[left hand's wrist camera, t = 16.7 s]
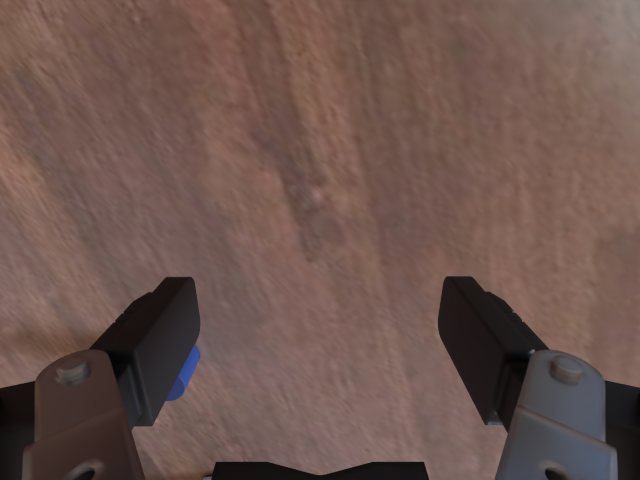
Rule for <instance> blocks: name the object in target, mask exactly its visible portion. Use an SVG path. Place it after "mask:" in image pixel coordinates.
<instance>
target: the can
mask: <svg viewBox="0 0 640 480" xmlns="http://www.w3.org/2000/svg"><path fill="white" fill-rule="evenodd" d="M199 357H200V355H199V351H198V349H197V347H196V346H195V345H194V346H193V348H192V350H191V352H190V354H189V356H188V358H187V360H186V362H185V364H184V366H183V368H182V370H181V371H180V373H179V375H178V377H177V379H176V381H175V383H174V385H173V387H172V389H171V391H170V393H169V395H168V397H167V399H166V400H165V401H172V400H176V399H178V398H179V397H181V396H182V395H183V393H184V391H185V389H186V387H187V385H188V383H189V380H190V378H191V376H192V374H193V371H194V369H195V367H196V365H197V363H198V360H199Z"/></svg>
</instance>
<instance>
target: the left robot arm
mask: <svg viewBox="0 0 640 480" xmlns="http://www.w3.org/2000/svg"><path fill="white" fill-rule="evenodd" d="M115 321H116V322H115V323H113V324H112V325H111V326H110V327H109V328H108V329H107V330H106V331H105V332H104V333H103V334H102V335H101V336H100V338H99V339H98V340H97V341H96V342H95V343H94V344H93V345H92V346H91V347H90V348H89V349H88V350H83V351H78V352H75V353H71V354H69V355H66V356H64V357H62V358H60V359H58V360H56V361H54V362H53V363H51V364H50V365H48V366H47V367H46V368H45V369H43V370H42V372H41V373H40V374H39V375H38V376H37V378H36V380H35V381H33V382H28V383H23V384H18V385H14V386H9V387H4V388H0V480H145V476H144V473H143V469H142V466H141V463H140V459H139V456H138V452H137V449H136V445H135V442H134V439H133V435H132V432H131V431H132V429H133V427H134V426H153V424H154V422H155V420H156V418H157V416H158V414H159V412H160V410H161V408H162V406H163V404H164V402H165V400H166V399H167V397H168V395H169V393H170V391H171V389H172V387H173V385H174V383H175V381H176V379H177V377H178V375H179V373H180V371H181V370H182V368H183V366H184V364H185V362H186V360H187V358H188V356H189V354H190V352H191V350H192V348H193V346H194V344H195V343H196V341H197V338H198V336H199V331H200V315H199V308H198V302H197V295H196V288H195V283H194V280H193V278H192V277H166V278H165V279H164V280H163V281H162V282H161V283H160V284H159V286H158V287H157V288H156V289H155V290H154V291H153V292H148V293H147V294H145V295H143V296H142V297H140V298H138V299H136V300H135V301H133V302H132V303H131V304H130V305H129V307H128V308H127V309H126V310H125V311H124V314H121V315H120V316H119V317H118V318H117V319H116V320H115ZM438 330H439V334H440V337H441V340H442V342H443V344H444V345H445V347H446V349H447V351H448V353H449V355H450V357H451V359H452V361H453V363H454V365H455V367H456V369H457V371H458V373H459V375H460V377H461V379H462V381H463V383H464V385H465V387H466V388H467V390H468V392H469V394H470V396H471V398H472V400H473V402H474V404H475V406H476V408H477V410H478V412H479V414H480V416H481V418H482V420H483V422H484V424H485V425H503V426H504V427H505V429H506V431H507V433H508V435H507V439H506V442H505V445H504V449H503V452H502V456H501V459H500V463H499V466H498V469H497V473H496V476H495V480H640V388H638V387H633V386H629V385H624V384H619V383H615V382H610V381H605V380H604V378H603V376H602V375H601V374H600V373H599V372H598V370H597V369H595V368H594V367H593V366H592V365H590V364H589V363H587V362H586V361H584V360H582V359H580V358H578V357H576V356H574V355H571V354H569V353H565V352H562V351H557V350H550V349H549V348H548V347H547V346H546V345H545V344H544V343H543V342H542V341H541V340H540V339H539V338H538V336H537V335H536V334H535V333H534V332H533V331H532V330H531V329H530V328H529V327H528V326H527V325H526V324H525V322H522V319H521V318H520V317H519V316H518V315H517V314H516V313H514V311H513V309H512V308H511V307H510V306H509V305H508V304H507V303H506V302H505V301H504V300H502V299H501V298H499V297H497V296H496V295H494V294H492V293H491V292H485V291H484V290H483V289H482V288H481V286H480V285H479V284H478V283H477V282H476V281H475V279H474V278H473V277H470V276H447V277H446V278H445V280H444V283H443V289H442V295H441V302H440V309H439V316H438ZM211 480H429V478H428V474H427V471H426V467H425V464H424V462H371V463H367V464H363V465H360V466H356V467H352V468H348V469H345V470H341V471H337V472H333V473H330V474H326V475H314V474H310V473H307V472H303V471H299V470H295V469H292V468H288V467H284V466H280V465H277V464H273V463H269V462H216V464H215V467H214V471H213V474H212V478H211Z"/></svg>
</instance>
